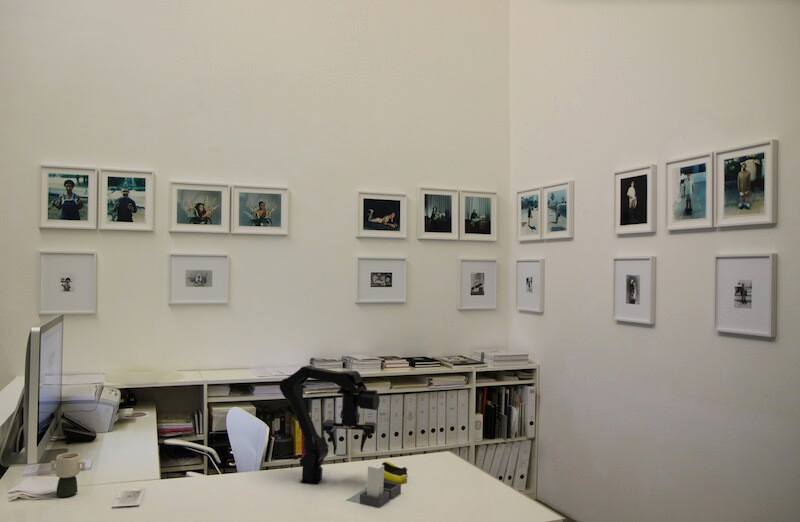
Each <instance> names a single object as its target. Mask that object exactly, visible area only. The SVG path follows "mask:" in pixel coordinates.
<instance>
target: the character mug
mask: <svg viewBox="0 0 800 522" xmlns="http://www.w3.org/2000/svg"><path fill="white" fill-rule="evenodd" d="M85 469H86V461H84V460H81V454H80V453H79V452H65V453H60V454H58V455H57V456H56V458H55V460H51V462H50V471H52V472H55V476H56V477H57V478H58V480H57V485H56V491H55V495H56V496H58V497H62V498H64V497H69V496H72V495H74V494H77V493H78V482H77V475H79V474H80V472H85Z"/></svg>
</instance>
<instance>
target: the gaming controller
mask: <svg viewBox="0 0 800 522" xmlns="http://www.w3.org/2000/svg"><path fill="white" fill-rule="evenodd" d="M381 465H384V481H386V482H391V483H396V484H401V485H403V484H406V483H407V481H408V479H407V478H408V469H409V468H408V467H406V466H403V467H399V466H397V465H395V464H394V463H392V462H390V461H388V460H387V461H383V462H382V463H381Z"/></svg>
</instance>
